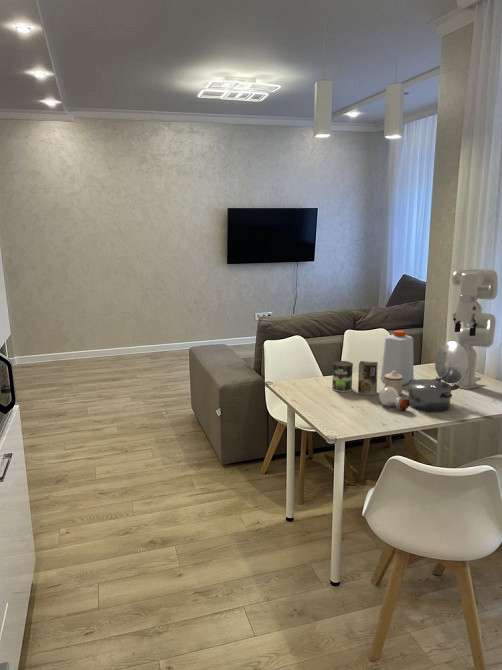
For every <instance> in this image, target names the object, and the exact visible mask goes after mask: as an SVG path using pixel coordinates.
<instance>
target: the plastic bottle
mask: <svg viewBox="0 0 502 670" xmlns="http://www.w3.org/2000/svg"><path fill="white" fill-rule="evenodd" d="M392 371H396V373H398V374H400V375H402V376H403V379H402V386H404V385H407V384H408V385H409V383H410V380H414V379H415V378H414V338H413V337H412V336H410V335H407V334H406V331H404V330H401V329H400V330H399V329H397V330H394V331H393V334H390V335H388V336H386V337H385V339H384V347H383V355H382V363H381V371H380V381H382V382H383V383H384V377H385V375H386V374H389V373H392Z"/></svg>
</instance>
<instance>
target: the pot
mask: <svg viewBox="0 0 502 670" xmlns="http://www.w3.org/2000/svg"><path fill="white" fill-rule="evenodd" d="M458 389H461V388H460V386H459V385H456V384H454V386H453V385H451V384H450V383H446V382H444V381H443V380H442V379H441V378H440V377H439V376H436V378H433V379H428V378H427V379H426V378H425V379H424V378H421V379H420V378H419V379H415V378H414V379H413V380H410V383H408V399H409V403H410V406H409V407H410V408H412V409H414V410H417V411H419V412H425V413H443V412H447V411H448V410H450V408H451V398H452V397H453V394H452V391H455V390H458ZM408 399H407V400H408Z"/></svg>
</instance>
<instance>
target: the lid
mask: <svg viewBox="0 0 502 670" xmlns="http://www.w3.org/2000/svg"><path fill="white" fill-rule="evenodd" d="M434 367H435V372H436V374H437V377H438V378H440V379H441V381H442V382H445V383H447V384H452V383H457V382H459V381H461V380H462V379H463V378H464V377H465V375H466V373H467V371H468V367H469V357H468V353H467V351H466V349H465V348H464V347H463V346H462V345H461V344H459V343H458V341H447V342H444V343H443V344H442V345H441V346H440V347H439V348H438V350H437V352H436V355H435V358H434Z"/></svg>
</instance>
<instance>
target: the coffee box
mask: <svg viewBox="0 0 502 670" xmlns="http://www.w3.org/2000/svg"><path fill="white" fill-rule="evenodd" d="M378 364H379V363H378V362H377V361H365V360H360V361H359V363H358V376H357V377H358V381H357V395H366V396H374V397H375V396H377V393H378V391H377V390H378V369H379V368H378V366H379V365H378Z"/></svg>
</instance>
